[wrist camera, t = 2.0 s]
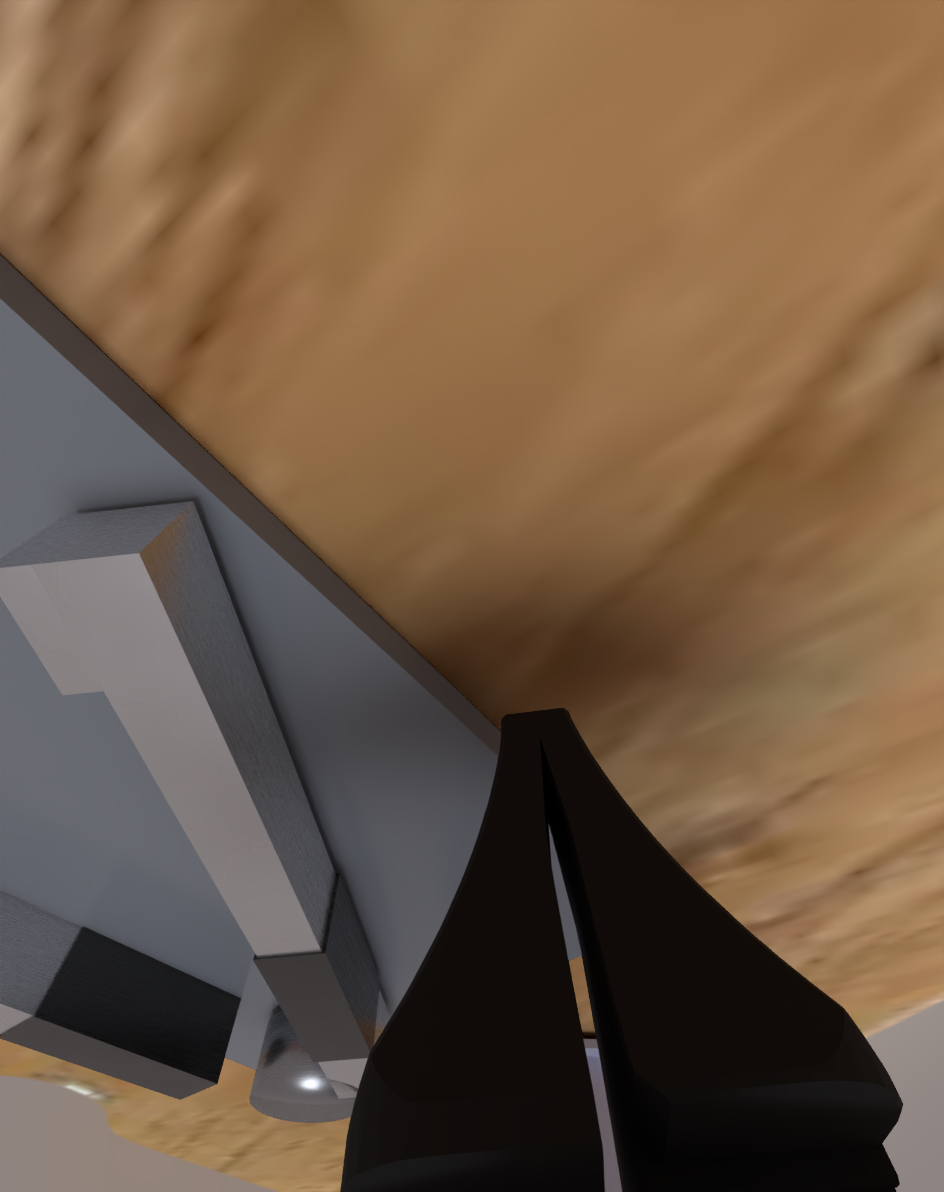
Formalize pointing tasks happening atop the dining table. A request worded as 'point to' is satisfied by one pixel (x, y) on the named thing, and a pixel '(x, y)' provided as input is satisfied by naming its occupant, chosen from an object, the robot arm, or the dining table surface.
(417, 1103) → the robot arm
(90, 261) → the dining table surface
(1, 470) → the slate board
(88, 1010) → the arm
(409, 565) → the dining table surface
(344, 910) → the tongs moving arm
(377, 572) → the dining table surface
